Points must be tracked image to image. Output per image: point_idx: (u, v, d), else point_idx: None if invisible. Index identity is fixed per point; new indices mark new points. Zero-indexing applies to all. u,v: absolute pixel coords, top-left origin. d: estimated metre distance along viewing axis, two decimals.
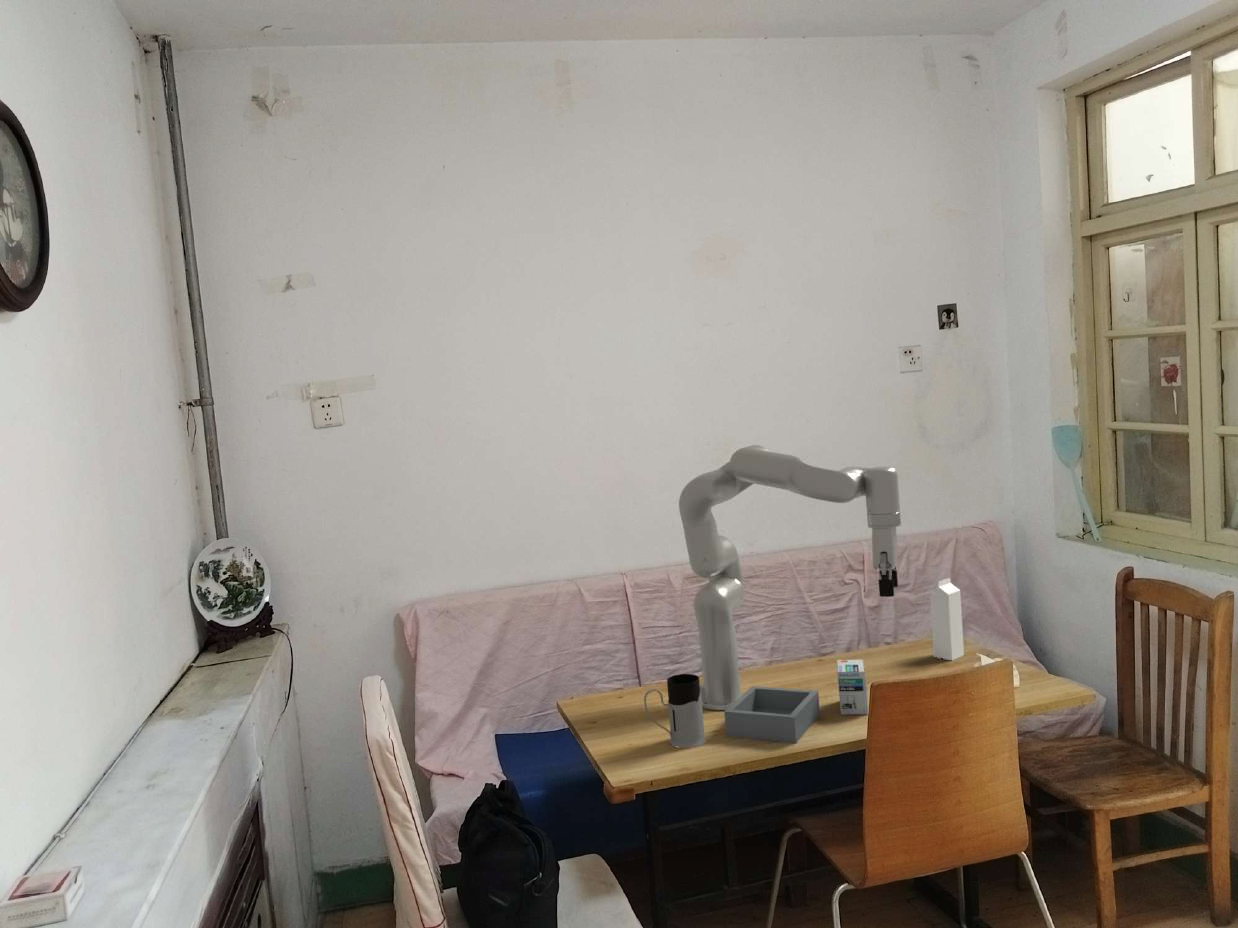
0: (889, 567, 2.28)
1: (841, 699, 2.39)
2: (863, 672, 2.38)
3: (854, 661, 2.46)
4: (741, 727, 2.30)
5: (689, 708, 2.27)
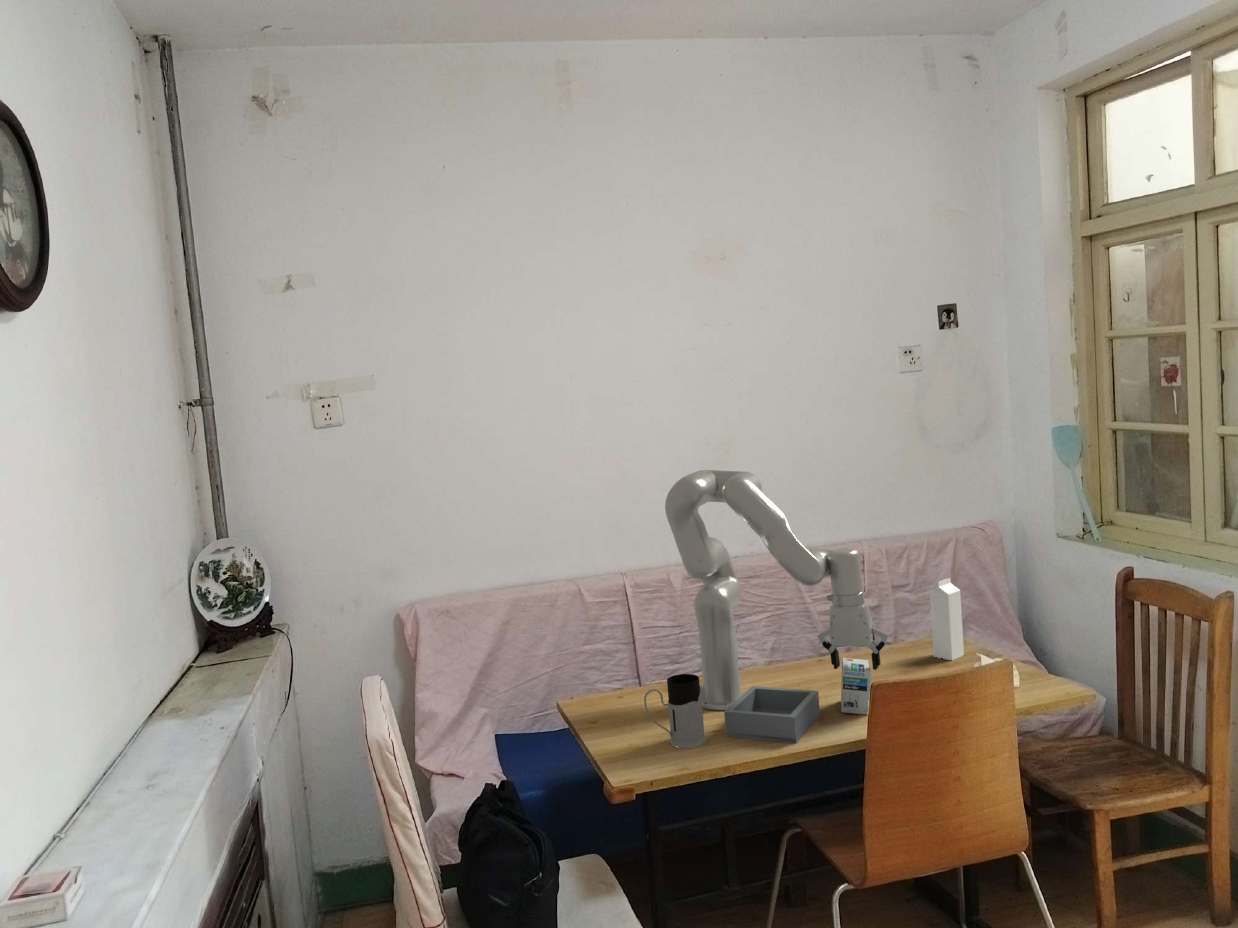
0: (872, 640, 2.41)
1: (843, 697, 2.39)
2: (869, 672, 2.37)
3: (860, 661, 2.46)
4: (741, 727, 2.30)
5: (689, 708, 2.27)
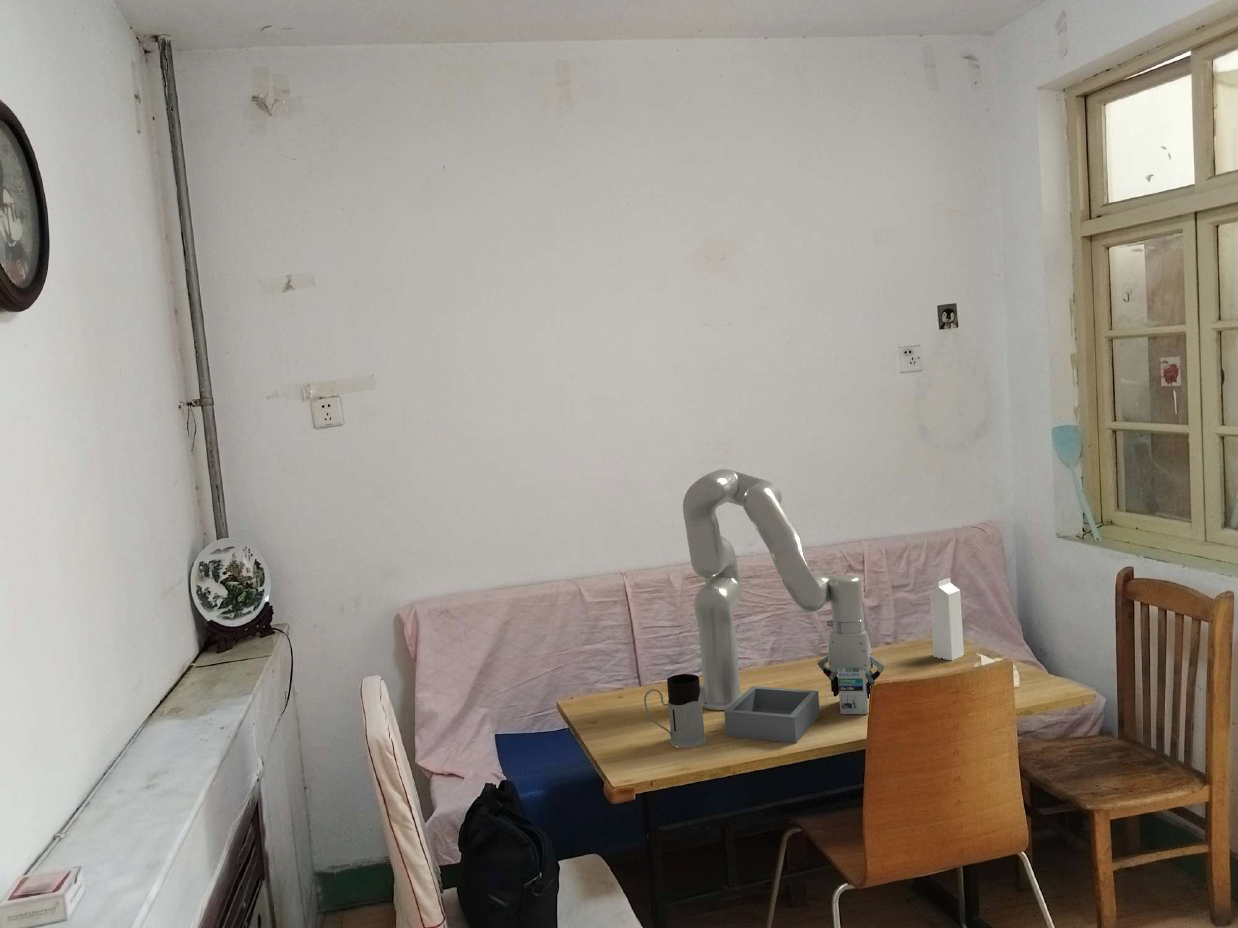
0: (869, 668, 2.42)
1: (841, 699, 2.39)
2: (863, 672, 2.38)
3: None
4: (741, 727, 2.30)
5: (689, 708, 2.27)
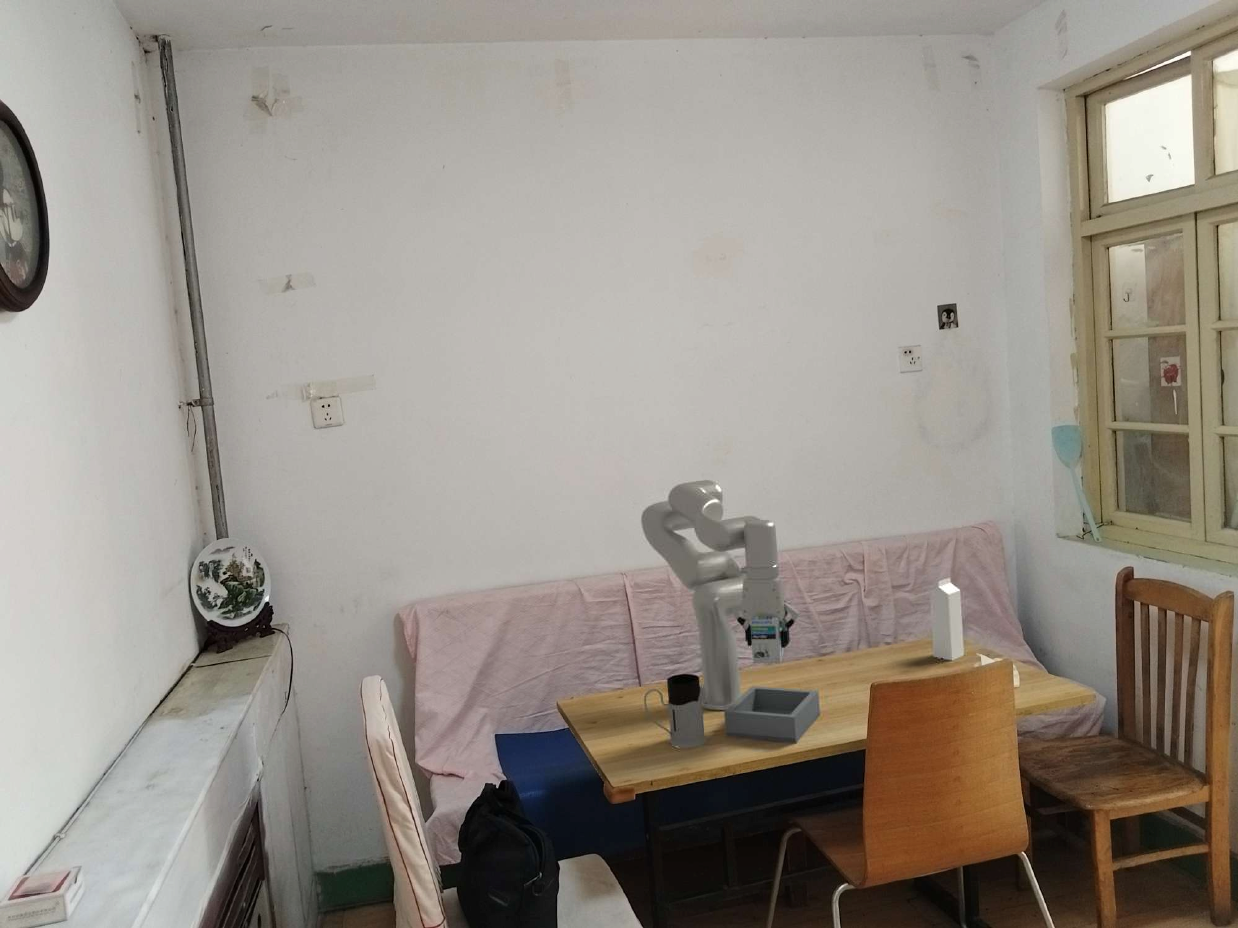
0: (784, 616, 2.33)
1: (753, 647, 2.30)
2: (776, 619, 2.29)
3: None
4: (741, 727, 2.30)
5: (689, 708, 2.27)
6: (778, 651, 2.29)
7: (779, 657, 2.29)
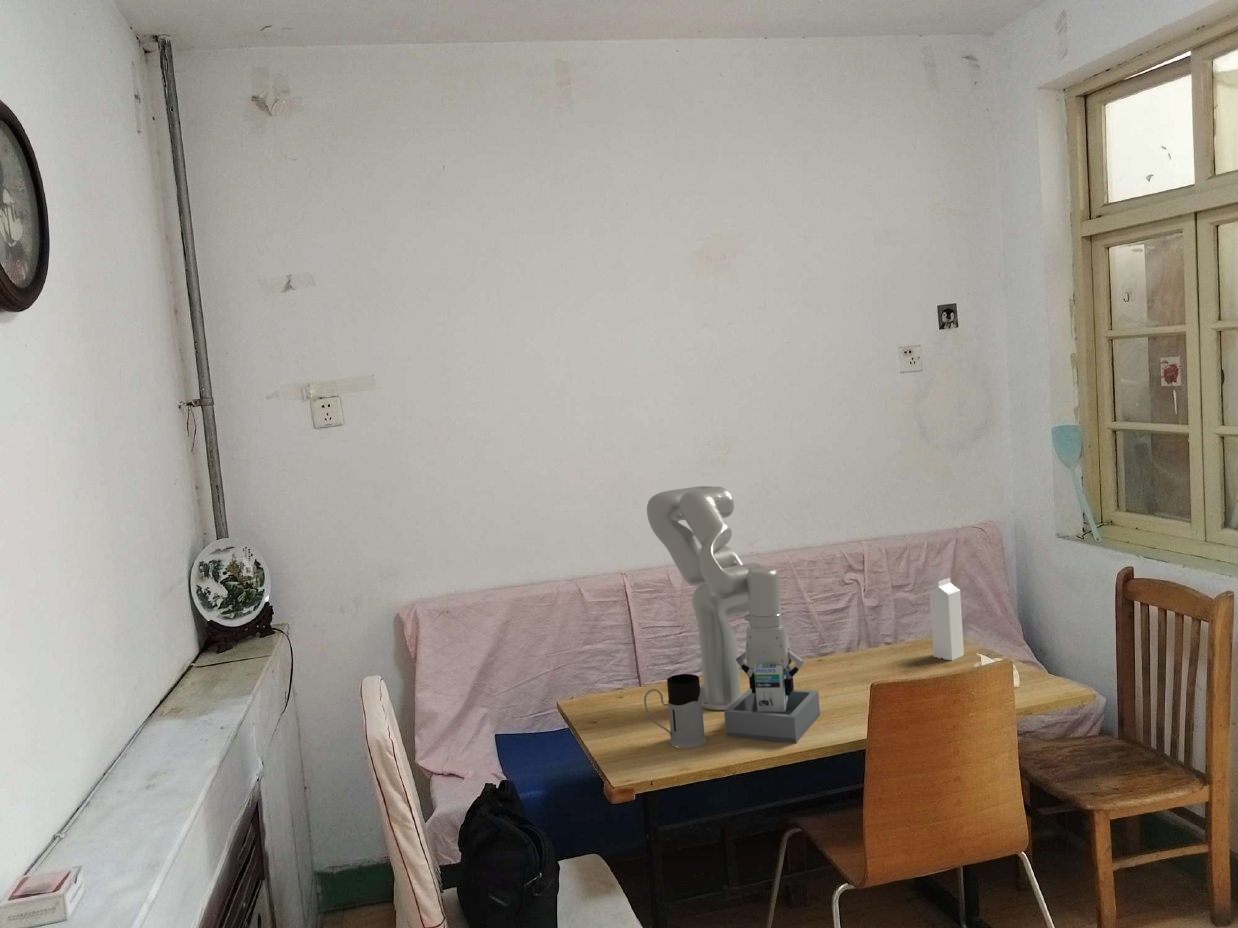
0: (788, 664, 2.34)
1: (757, 696, 2.31)
2: (780, 668, 2.29)
3: None
4: (741, 727, 2.30)
5: (689, 708, 2.27)
6: (782, 699, 2.30)
7: (783, 705, 2.30)
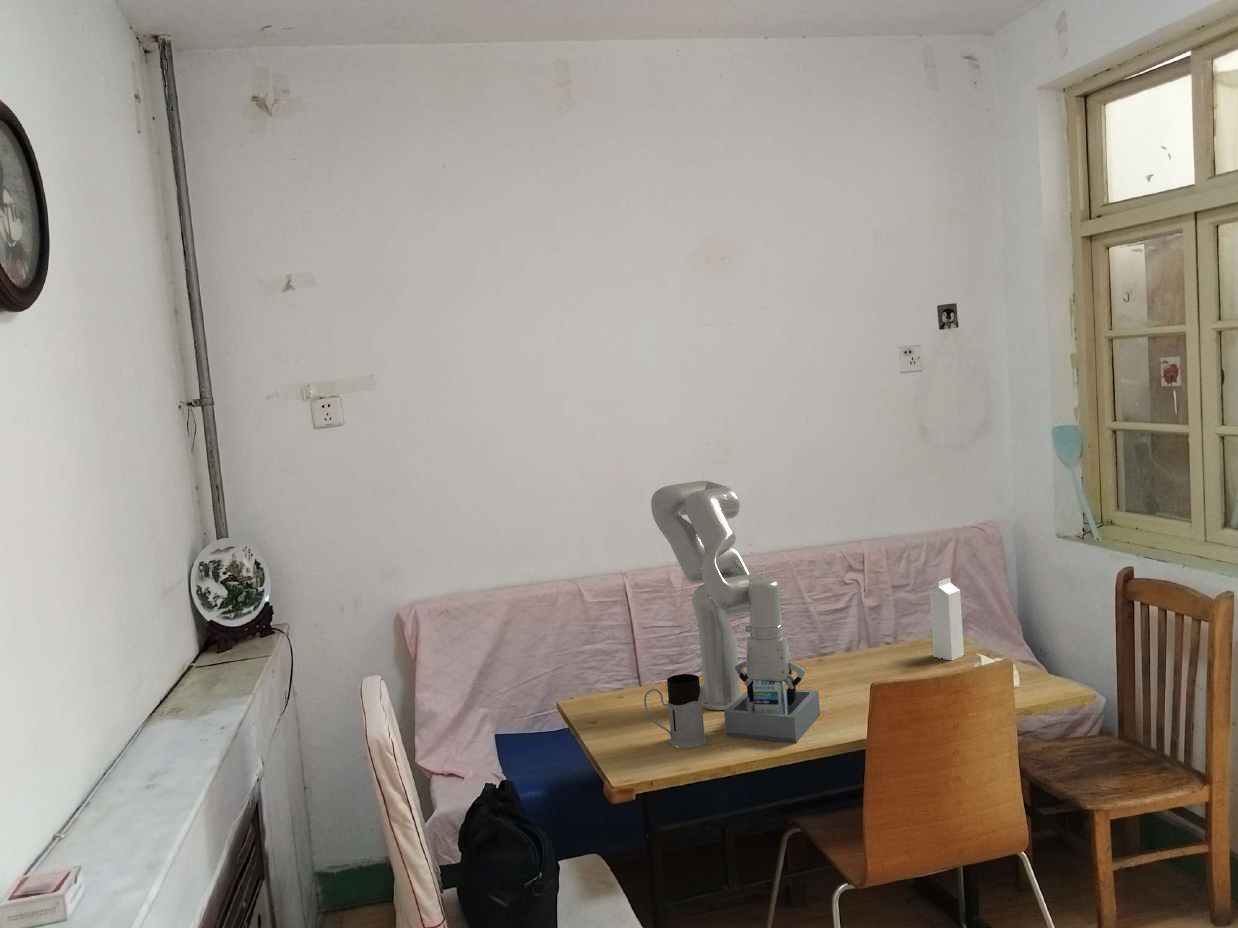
0: (789, 674, 2.34)
1: None
2: (778, 685, 2.30)
3: None
4: (741, 727, 2.30)
5: (689, 708, 2.27)
6: None
7: None
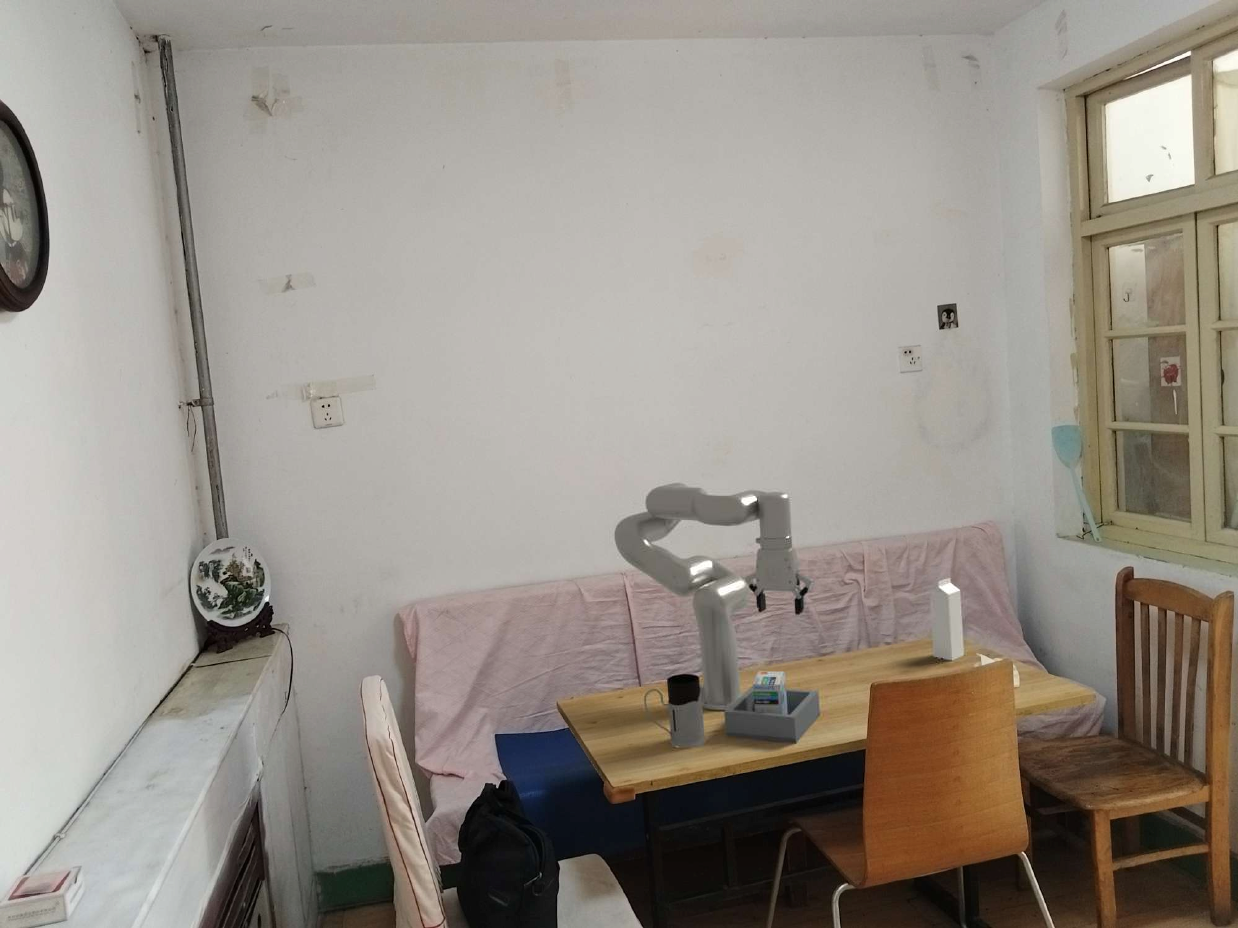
0: (798, 585, 2.40)
1: None
2: (778, 685, 2.30)
3: (774, 673, 2.39)
4: (741, 727, 2.30)
5: (689, 708, 2.27)
6: None
7: None
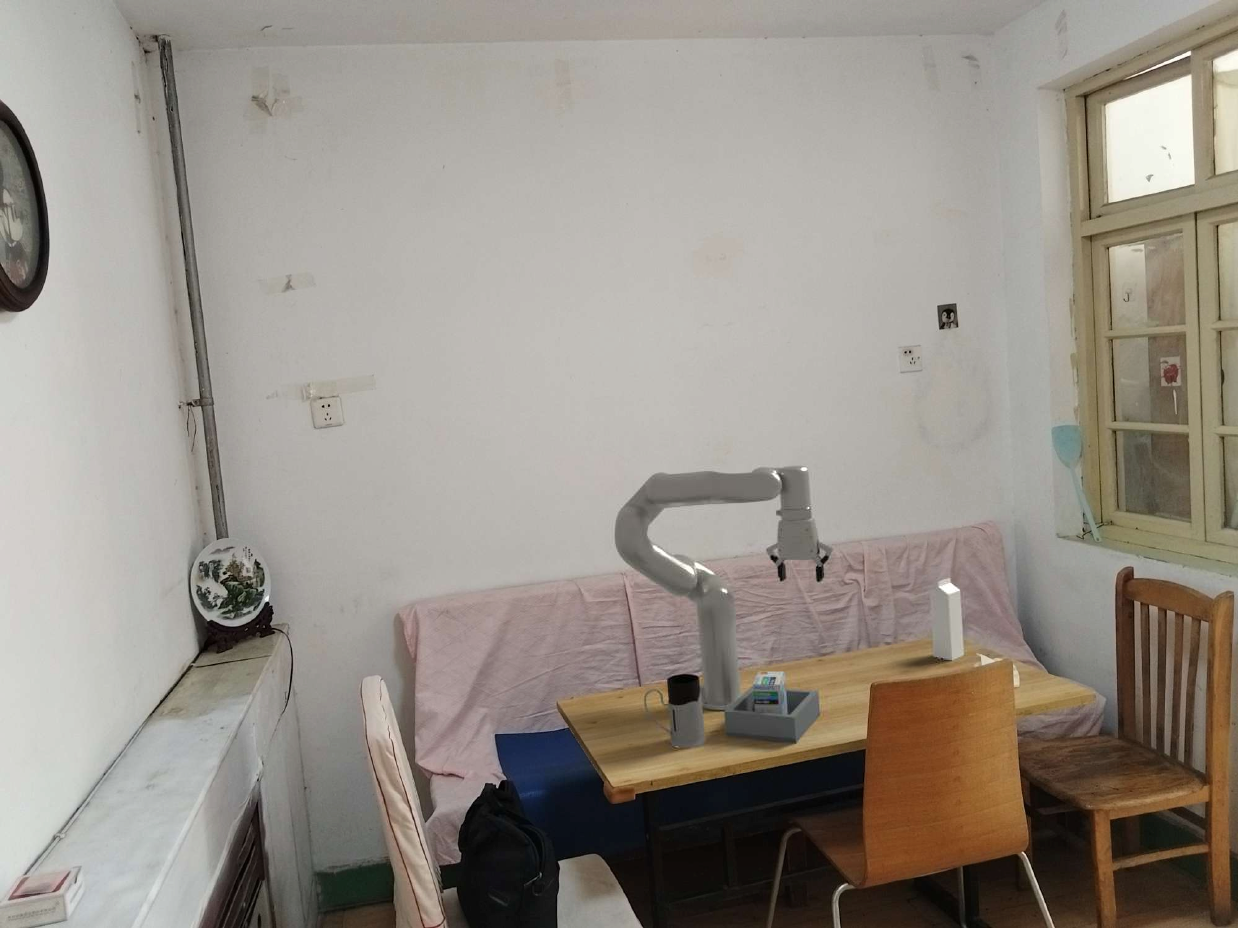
0: (817, 554, 2.51)
1: None
2: (778, 685, 2.30)
3: (774, 673, 2.39)
4: (741, 727, 2.30)
5: (689, 708, 2.27)
6: None
7: None
